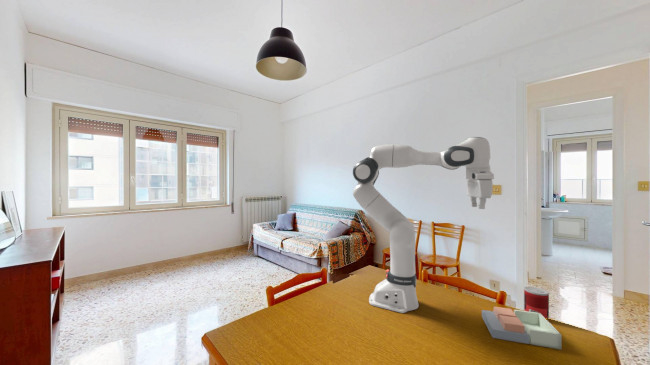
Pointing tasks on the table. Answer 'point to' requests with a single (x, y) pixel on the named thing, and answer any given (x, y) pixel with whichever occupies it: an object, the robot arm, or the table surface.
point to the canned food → (536, 301)
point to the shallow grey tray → (502, 329)
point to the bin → (539, 329)
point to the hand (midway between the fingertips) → (477, 207)
